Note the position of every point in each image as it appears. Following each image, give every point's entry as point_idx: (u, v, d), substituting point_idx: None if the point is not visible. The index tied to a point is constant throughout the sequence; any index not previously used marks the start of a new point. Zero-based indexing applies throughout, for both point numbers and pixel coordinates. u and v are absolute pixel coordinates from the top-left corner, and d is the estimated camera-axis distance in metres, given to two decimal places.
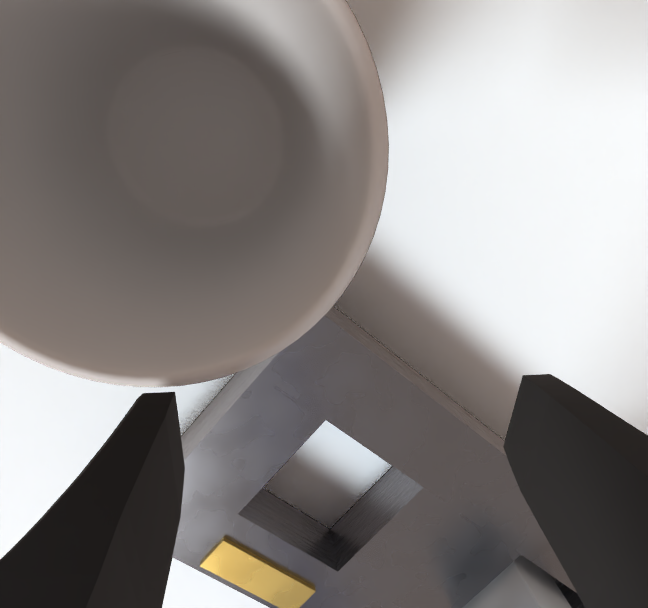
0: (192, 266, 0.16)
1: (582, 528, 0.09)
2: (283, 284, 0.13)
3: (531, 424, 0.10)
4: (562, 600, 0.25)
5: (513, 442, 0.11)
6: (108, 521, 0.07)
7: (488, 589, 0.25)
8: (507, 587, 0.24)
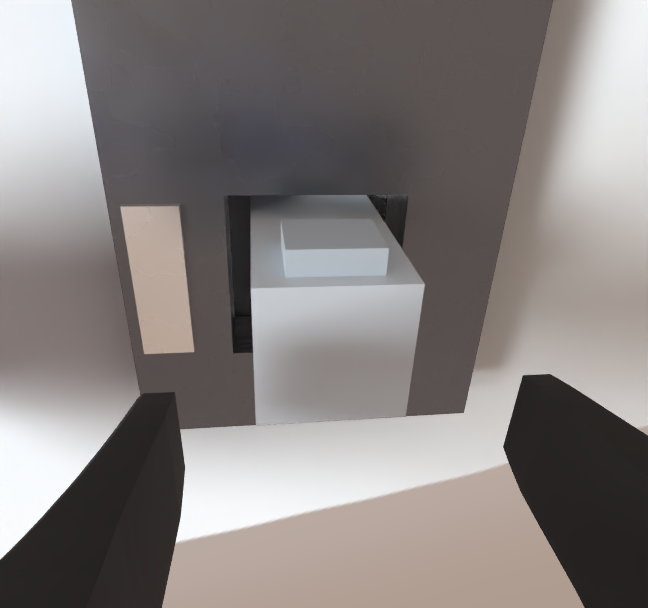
0: None
1: (582, 528, 0.09)
2: None
3: (531, 424, 0.10)
4: None
5: (513, 442, 0.11)
6: (108, 521, 0.07)
7: (321, 214, 0.16)
8: None
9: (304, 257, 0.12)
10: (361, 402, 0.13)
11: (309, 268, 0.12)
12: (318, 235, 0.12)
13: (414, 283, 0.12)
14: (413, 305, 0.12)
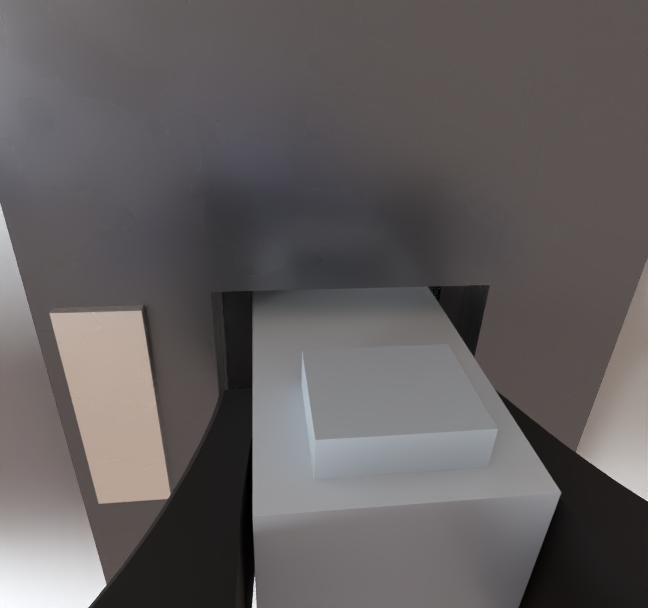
0: None
1: None
2: None
3: None
4: None
5: None
6: (230, 512, 0.07)
7: (357, 311, 0.11)
8: (408, 324, 0.10)
9: (348, 449, 0.07)
10: None
11: (356, 464, 0.07)
12: (368, 393, 0.07)
13: (542, 492, 0.07)
14: (536, 522, 0.07)
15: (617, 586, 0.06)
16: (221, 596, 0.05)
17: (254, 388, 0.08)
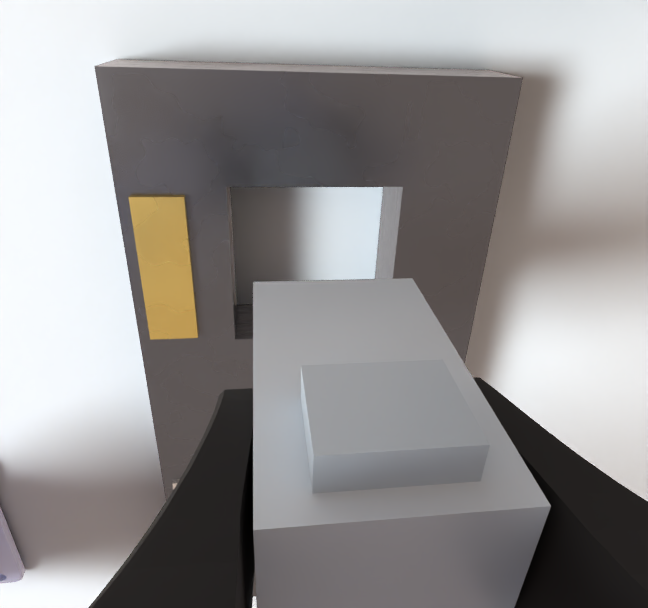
0: None
1: None
2: None
3: None
4: None
5: None
6: (230, 512, 0.07)
7: (355, 324, 0.11)
8: (405, 337, 0.11)
9: (345, 464, 0.07)
10: None
11: (353, 479, 0.07)
12: (365, 408, 0.08)
13: (533, 505, 0.07)
14: (527, 534, 0.07)
15: (618, 586, 0.06)
16: (221, 596, 0.05)
17: (255, 402, 0.09)
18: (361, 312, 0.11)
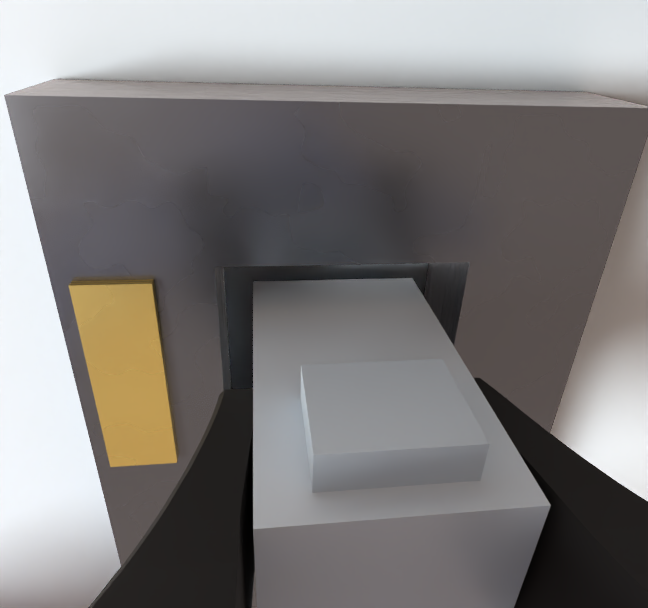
0: None
1: None
2: None
3: None
4: None
5: None
6: (230, 512, 0.07)
7: (354, 324, 0.11)
8: (405, 337, 0.11)
9: (345, 463, 0.07)
10: None
11: (353, 478, 0.07)
12: (365, 408, 0.08)
13: (532, 504, 0.07)
14: (527, 533, 0.07)
15: (618, 587, 0.06)
16: (221, 596, 0.05)
17: (254, 401, 0.09)
18: (361, 312, 0.11)
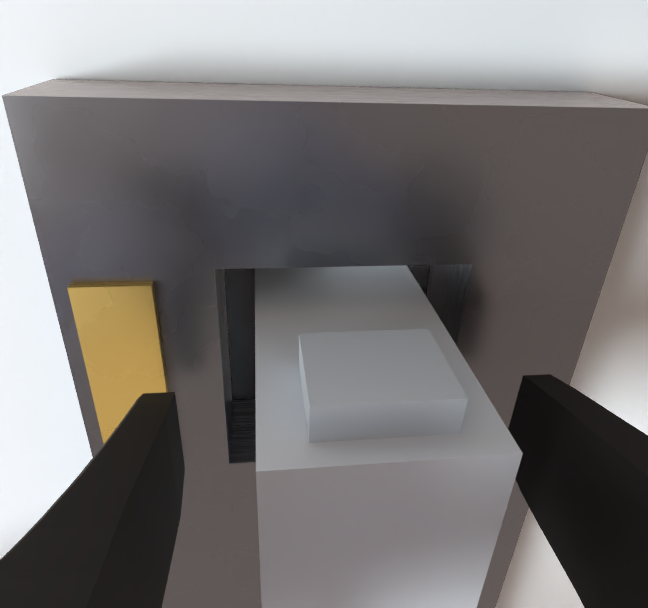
0: None
1: (582, 528, 0.09)
2: None
3: (531, 424, 0.10)
4: None
5: None
6: (108, 521, 0.07)
7: (350, 302, 0.12)
8: (396, 313, 0.11)
9: (338, 415, 0.08)
10: (415, 597, 0.09)
11: (345, 429, 0.08)
12: (357, 369, 0.08)
13: (506, 453, 0.08)
14: (502, 480, 0.08)
15: None
16: None
17: (256, 368, 0.09)
18: (356, 291, 0.12)
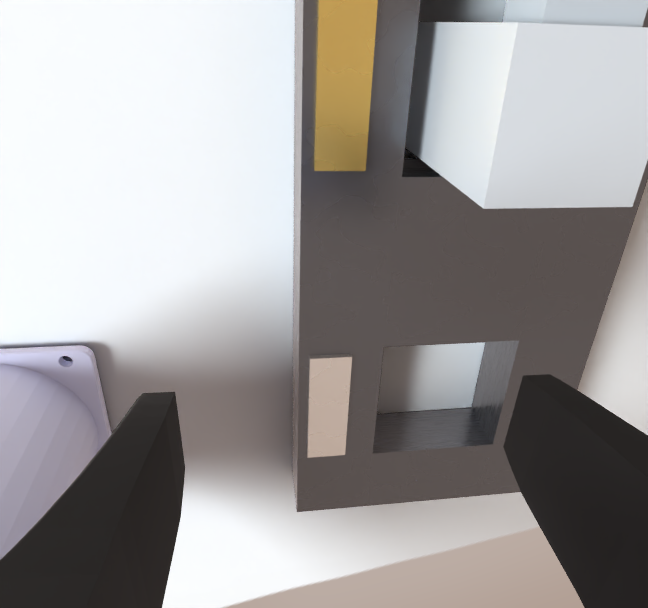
0: None
1: (582, 528, 0.09)
2: None
3: (531, 424, 0.10)
4: None
5: (513, 442, 0.11)
6: (108, 521, 0.07)
7: None
8: None
9: None
10: (593, 184, 0.13)
11: (568, 12, 0.11)
12: None
13: None
14: None
15: None
16: None
17: (473, 22, 0.13)
18: None
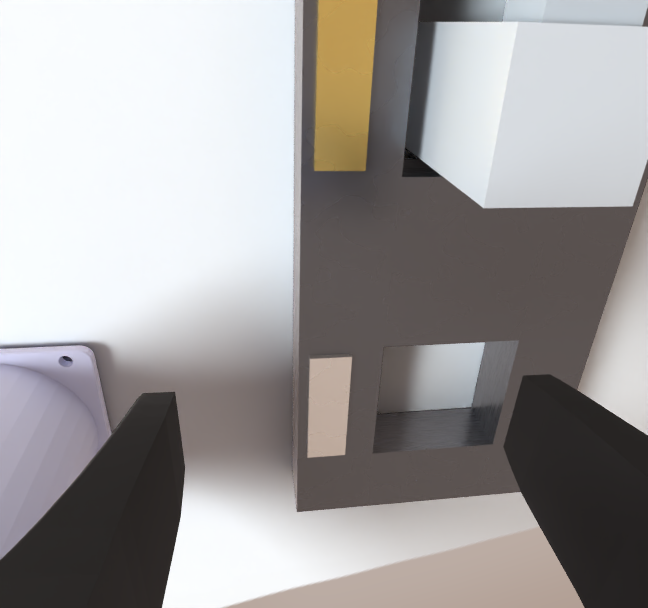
0: None
1: (582, 528, 0.09)
2: None
3: (531, 424, 0.10)
4: None
5: (513, 442, 0.11)
6: (108, 521, 0.07)
7: None
8: None
9: None
10: (593, 184, 0.13)
11: (568, 12, 0.11)
12: None
13: None
14: None
15: None
16: None
17: (473, 22, 0.13)
18: None
